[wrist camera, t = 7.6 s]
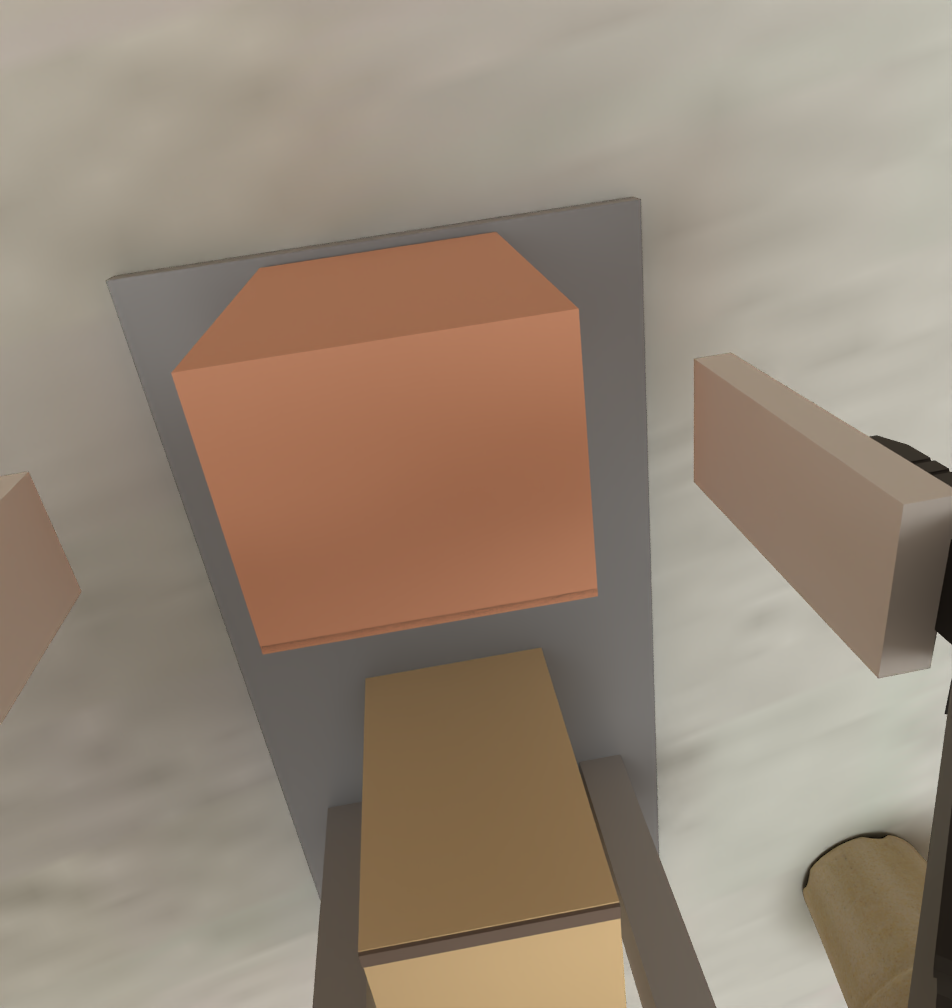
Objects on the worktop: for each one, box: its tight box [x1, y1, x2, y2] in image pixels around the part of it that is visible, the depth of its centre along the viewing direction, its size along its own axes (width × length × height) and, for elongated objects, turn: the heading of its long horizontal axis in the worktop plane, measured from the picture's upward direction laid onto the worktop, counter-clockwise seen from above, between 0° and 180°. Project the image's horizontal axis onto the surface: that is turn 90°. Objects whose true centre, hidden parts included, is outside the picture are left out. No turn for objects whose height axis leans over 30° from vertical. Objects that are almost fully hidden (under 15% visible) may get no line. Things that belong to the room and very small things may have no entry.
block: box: [171, 232, 598, 654], centre depth 19 cm, size 7×6×10 cm
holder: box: [106, 197, 716, 1008], centre depth 24 cm, size 16×32×14 cm, turn 8°
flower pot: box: [803, 835, 927, 1008], centre depth 36 cm, size 9×9×9 cm
